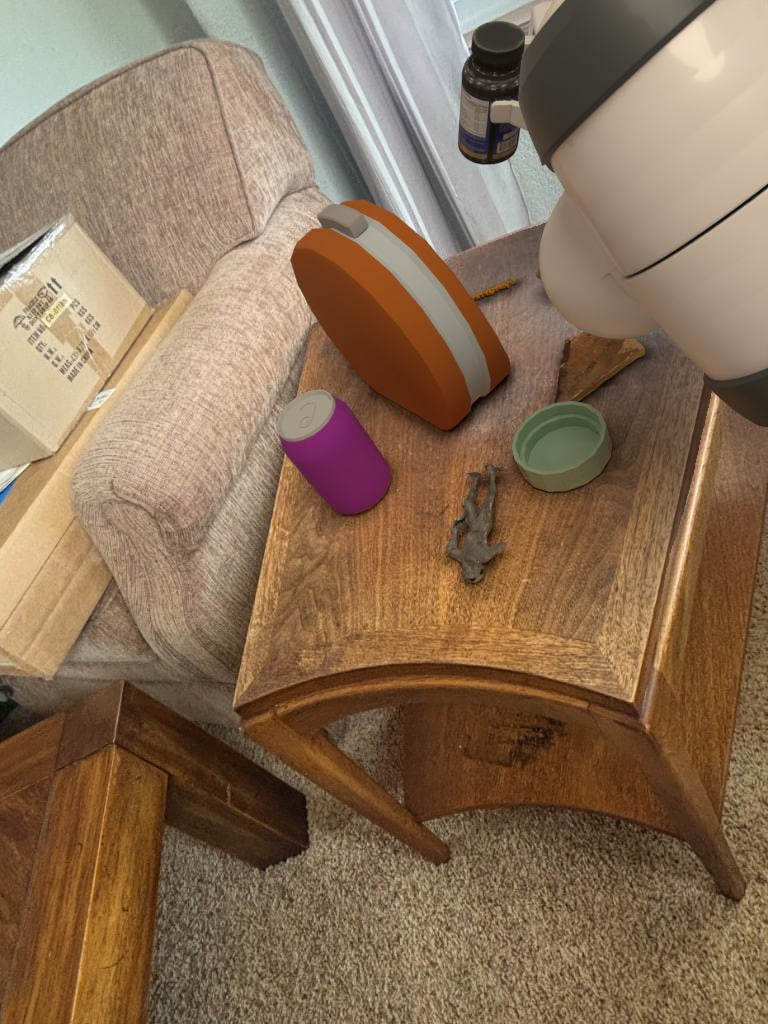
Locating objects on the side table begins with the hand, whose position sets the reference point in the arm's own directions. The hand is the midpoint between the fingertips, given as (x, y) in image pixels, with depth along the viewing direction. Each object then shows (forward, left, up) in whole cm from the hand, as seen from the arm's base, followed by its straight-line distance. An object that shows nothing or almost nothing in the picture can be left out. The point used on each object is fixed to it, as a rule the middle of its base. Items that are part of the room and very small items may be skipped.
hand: (487, 84), depth 69 cm
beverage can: (+26, +21, -23) cm, 41 cm away
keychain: (+8, -2, -21) cm, 23 cm away
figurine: (+14, +32, -23) cm, 42 cm away
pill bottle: (+2, -2, -6) cm, 7 cm away
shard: (0, +18, -23) cm, 29 cm away
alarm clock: (+16, +9, -22) cm, 29 cm away
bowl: (+5, +27, -22) cm, 36 cm away
